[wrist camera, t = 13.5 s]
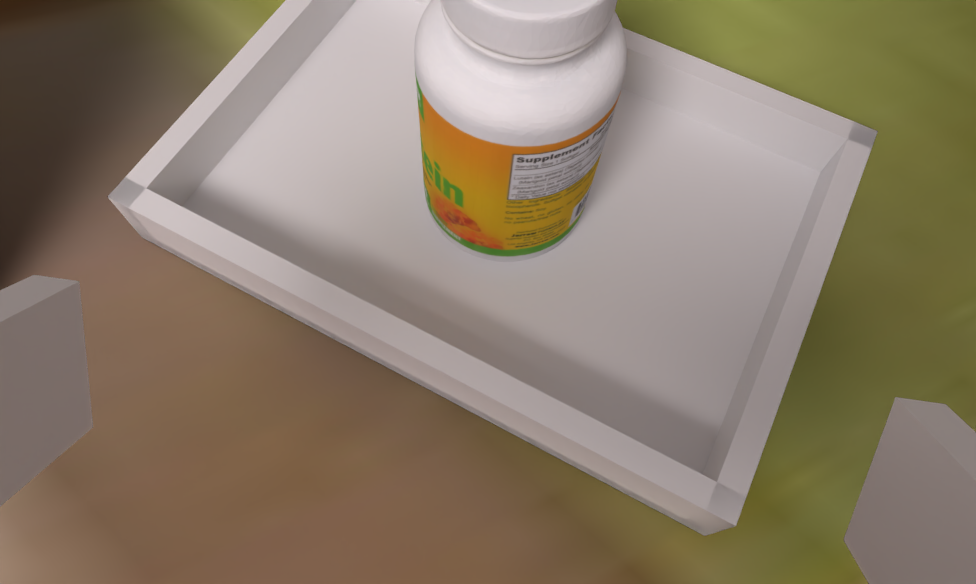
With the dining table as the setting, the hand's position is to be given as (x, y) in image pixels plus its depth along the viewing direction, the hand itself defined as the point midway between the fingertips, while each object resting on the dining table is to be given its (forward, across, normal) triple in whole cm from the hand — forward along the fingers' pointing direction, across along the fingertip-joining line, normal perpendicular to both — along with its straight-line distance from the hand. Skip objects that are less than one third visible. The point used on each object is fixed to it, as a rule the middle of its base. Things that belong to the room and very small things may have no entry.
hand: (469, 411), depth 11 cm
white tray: (+14, 0, 0) cm, 14 cm away
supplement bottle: (+13, 0, 0) cm, 13 cm away
